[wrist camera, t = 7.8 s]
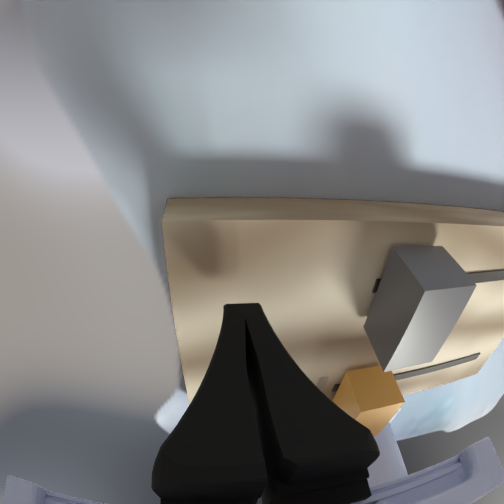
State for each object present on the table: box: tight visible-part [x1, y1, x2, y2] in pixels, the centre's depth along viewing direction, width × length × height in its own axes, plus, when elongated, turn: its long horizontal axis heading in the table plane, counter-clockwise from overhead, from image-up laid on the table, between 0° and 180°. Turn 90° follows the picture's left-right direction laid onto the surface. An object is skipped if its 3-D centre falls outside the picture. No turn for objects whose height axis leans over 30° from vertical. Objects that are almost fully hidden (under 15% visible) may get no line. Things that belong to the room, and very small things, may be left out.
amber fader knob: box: [332, 366, 405, 437], centre depth 19 cm, size 5×3×3 cm, turn 177°
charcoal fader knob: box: [363, 246, 477, 372], centre depth 13 cm, size 5×3×3 cm, turn 177°
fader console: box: [161, 198, 504, 404], centre depth 19 cm, size 16×26×2 cm, turn 87°
